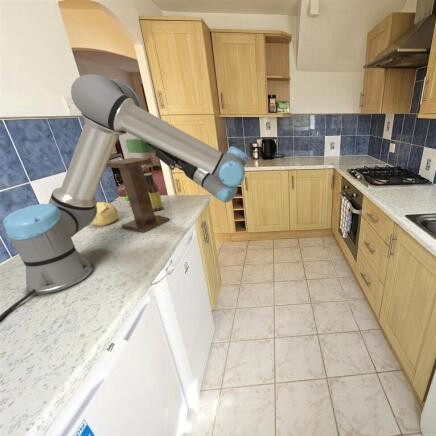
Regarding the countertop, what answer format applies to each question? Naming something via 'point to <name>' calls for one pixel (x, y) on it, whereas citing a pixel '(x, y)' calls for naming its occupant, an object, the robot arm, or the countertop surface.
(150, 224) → the walnut stand
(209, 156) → the robot arm
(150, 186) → the sauce bottle
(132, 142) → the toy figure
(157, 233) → the countertop surface
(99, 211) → the sculpture
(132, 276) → the countertop surface
